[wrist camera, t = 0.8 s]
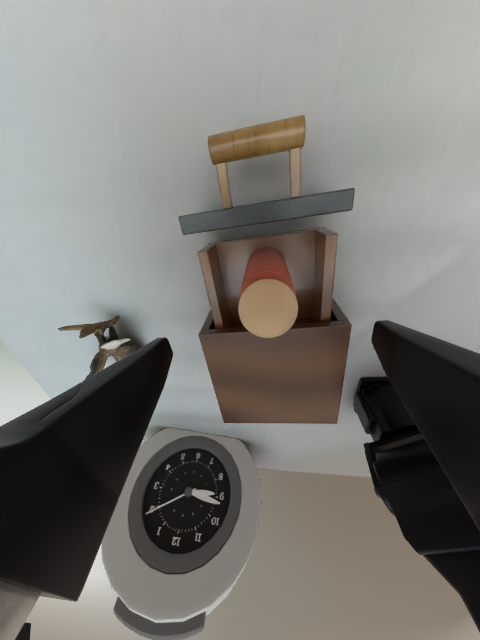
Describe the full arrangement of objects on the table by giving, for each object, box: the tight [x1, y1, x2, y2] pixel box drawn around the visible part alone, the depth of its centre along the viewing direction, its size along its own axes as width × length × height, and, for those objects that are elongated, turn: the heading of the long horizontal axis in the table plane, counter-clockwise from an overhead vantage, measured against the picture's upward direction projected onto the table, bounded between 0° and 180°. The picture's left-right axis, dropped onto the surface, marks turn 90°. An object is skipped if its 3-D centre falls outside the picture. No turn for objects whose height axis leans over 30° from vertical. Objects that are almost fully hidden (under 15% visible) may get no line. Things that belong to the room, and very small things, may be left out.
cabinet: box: [199, 298, 351, 424], centre depth 23 cm, size 13×13×6 cm
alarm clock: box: [101, 427, 262, 640], centre depth 30 cm, size 21×8×20 cm, turn 84°
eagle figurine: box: [58, 316, 138, 381], centre depth 25 cm, size 8×7×9 cm
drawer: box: [179, 115, 355, 329], centre depth 17 cm, size 15×11×4 cm
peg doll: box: [238, 247, 298, 338], centre depth 14 cm, size 3×3×10 cm
